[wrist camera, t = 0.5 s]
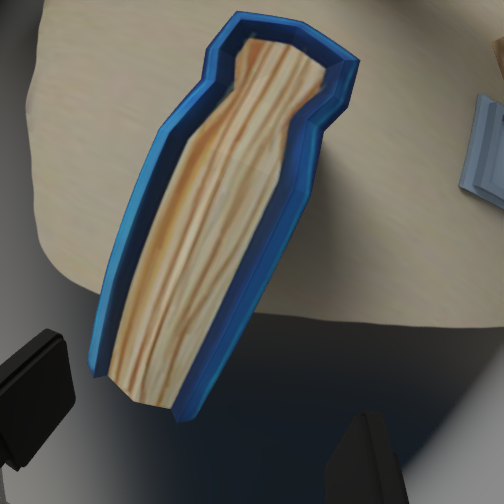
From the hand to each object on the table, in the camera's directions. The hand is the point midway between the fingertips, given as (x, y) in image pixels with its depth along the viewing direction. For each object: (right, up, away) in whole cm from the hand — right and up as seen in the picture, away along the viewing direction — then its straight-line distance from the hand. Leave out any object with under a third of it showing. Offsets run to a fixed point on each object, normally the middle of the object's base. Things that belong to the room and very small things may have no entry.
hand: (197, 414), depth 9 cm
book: (+2, +12, +28) cm, 31 cm away
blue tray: (+40, +16, +22) cm, 48 cm away
